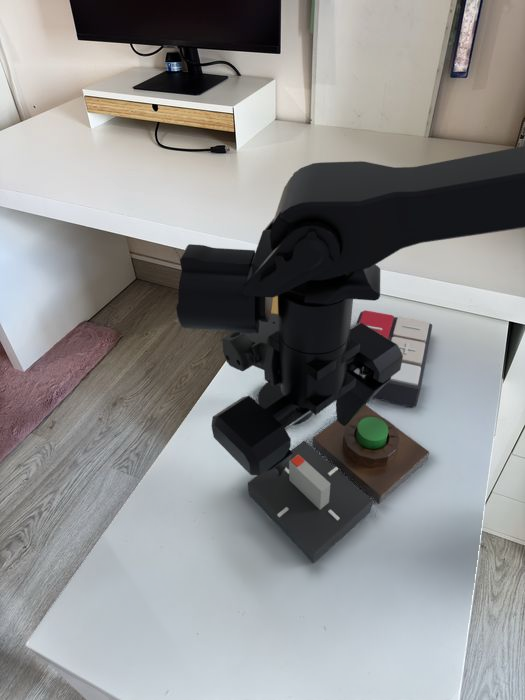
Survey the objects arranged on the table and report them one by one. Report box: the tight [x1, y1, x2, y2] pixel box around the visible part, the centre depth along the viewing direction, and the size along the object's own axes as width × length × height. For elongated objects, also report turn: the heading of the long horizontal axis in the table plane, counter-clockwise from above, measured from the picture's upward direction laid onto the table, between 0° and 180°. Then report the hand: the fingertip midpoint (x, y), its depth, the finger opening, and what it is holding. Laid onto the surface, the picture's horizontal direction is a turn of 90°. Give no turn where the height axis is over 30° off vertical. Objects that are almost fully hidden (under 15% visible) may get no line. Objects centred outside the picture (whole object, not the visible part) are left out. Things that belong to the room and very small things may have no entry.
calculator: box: [355, 310, 433, 408], centre depth 73 cm, size 11×4×15 cm
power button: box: [356, 417, 388, 450], centre depth 60 cm, size 4×4×2 cm
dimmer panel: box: [246, 440, 374, 564], centre depth 58 cm, size 11×9×3 cm
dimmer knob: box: [289, 455, 330, 510], centre depth 55 cm, size 5×1×4 cm, turn 40°
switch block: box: [312, 404, 431, 504], centre depth 62 cm, size 11×9×4 cm
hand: (310, 446), depth 51 cm, fingers open, 9 cm apart
